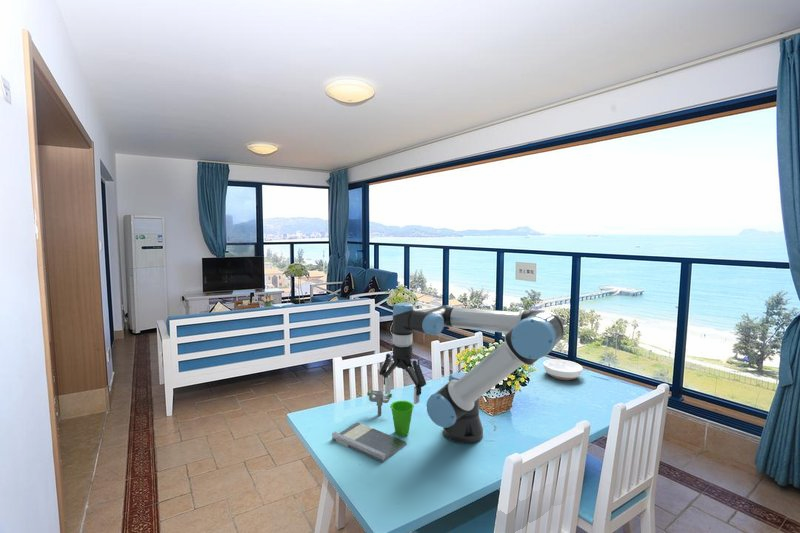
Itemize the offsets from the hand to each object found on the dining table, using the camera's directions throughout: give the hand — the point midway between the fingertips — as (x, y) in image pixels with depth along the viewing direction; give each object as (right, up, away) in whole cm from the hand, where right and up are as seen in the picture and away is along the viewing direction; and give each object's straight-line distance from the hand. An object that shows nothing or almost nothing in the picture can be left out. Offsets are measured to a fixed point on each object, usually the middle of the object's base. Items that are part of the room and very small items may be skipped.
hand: (401, 398), depth 149 cm
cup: (0, -14, +1) cm, 14 cm away
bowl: (+87, -9, +60) cm, 106 cm away
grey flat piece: (-12, -14, -5) cm, 20 cm away
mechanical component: (-9, -13, +15) cm, 22 cm away
